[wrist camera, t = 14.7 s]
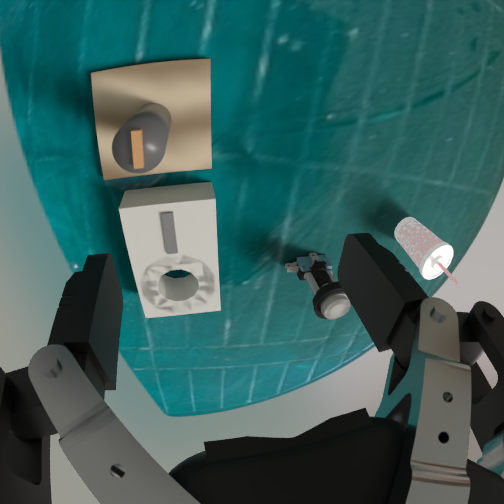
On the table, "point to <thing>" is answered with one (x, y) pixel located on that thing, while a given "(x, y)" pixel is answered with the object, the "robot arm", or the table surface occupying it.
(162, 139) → the dark grey cylinder
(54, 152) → the table surface
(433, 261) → the beverage cup
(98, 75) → the board
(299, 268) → the push button
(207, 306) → the light grey boxy piece
